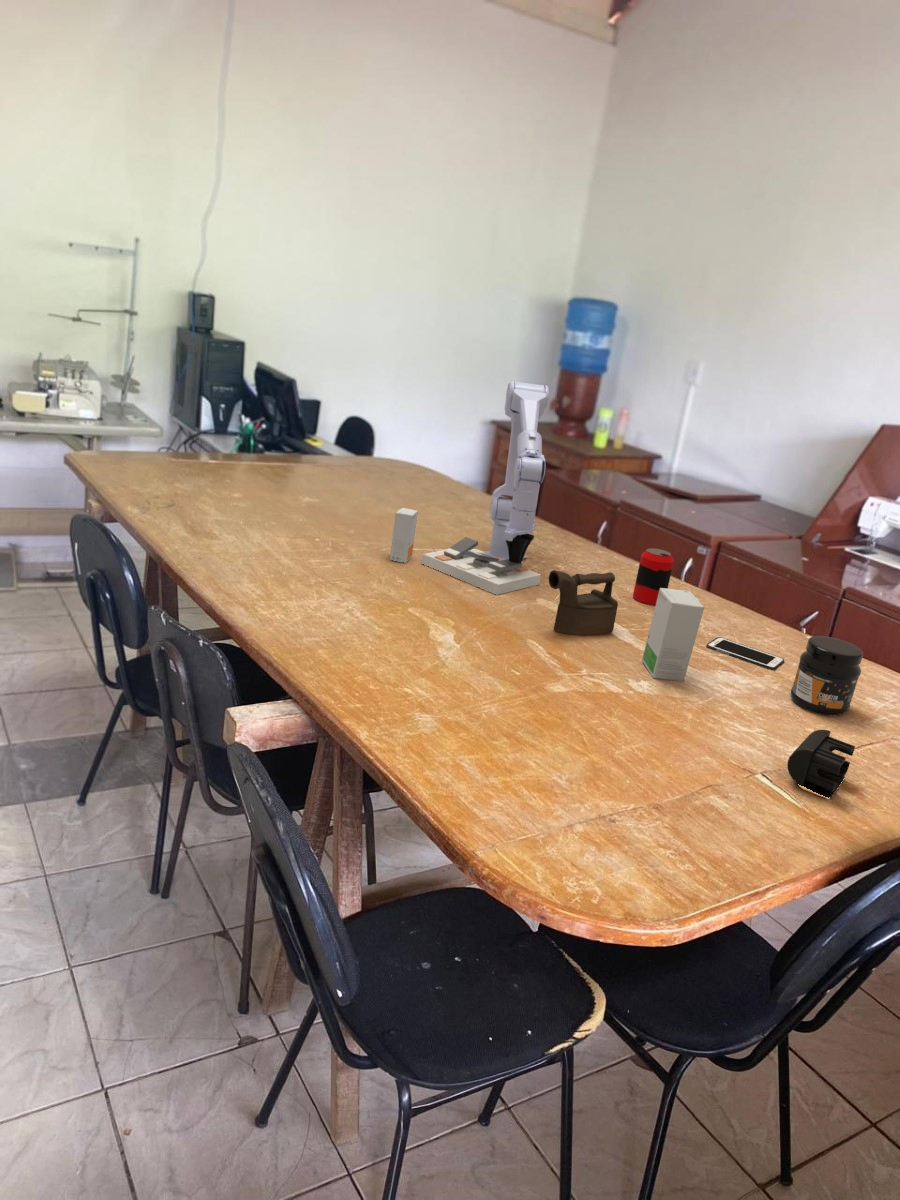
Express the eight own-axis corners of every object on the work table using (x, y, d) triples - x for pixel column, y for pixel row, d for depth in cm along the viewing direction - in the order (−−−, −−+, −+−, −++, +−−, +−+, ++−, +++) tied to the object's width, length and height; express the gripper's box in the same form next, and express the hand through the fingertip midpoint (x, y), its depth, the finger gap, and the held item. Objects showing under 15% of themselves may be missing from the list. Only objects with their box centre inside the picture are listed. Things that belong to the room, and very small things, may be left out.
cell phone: (773, 672, 180) (774, 668, 180) (704, 648, 188) (705, 644, 187) (784, 663, 186) (785, 658, 186) (717, 640, 194) (718, 636, 193)
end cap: (800, 760, 144) (811, 723, 142) (845, 778, 140) (857, 740, 138) (781, 782, 136) (792, 743, 134) (828, 801, 132) (841, 761, 130)
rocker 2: (485, 558, 217) (487, 553, 217) (498, 562, 215) (499, 558, 215) (465, 554, 211) (466, 549, 211) (478, 559, 209) (479, 554, 208)
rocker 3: (508, 562, 213) (509, 558, 213) (521, 567, 210) (522, 563, 210) (487, 567, 207) (487, 562, 207) (500, 572, 205) (501, 567, 204)
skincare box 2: (641, 661, 175) (657, 586, 170) (673, 664, 176) (690, 590, 171) (653, 679, 167) (671, 601, 162) (687, 682, 168) (705, 605, 163)
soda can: (645, 606, 208) (656, 557, 204) (626, 595, 214) (636, 547, 210) (670, 605, 211) (681, 556, 207) (650, 593, 218) (660, 546, 214)
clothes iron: (532, 624, 187) (542, 564, 182) (591, 619, 195) (603, 561, 190) (554, 639, 180) (565, 576, 176) (615, 633, 188) (627, 573, 184)
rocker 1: (466, 540, 221) (465, 536, 220) (478, 545, 218) (477, 541, 218) (444, 555, 216) (443, 551, 216) (456, 559, 214) (455, 555, 213)
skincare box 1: (406, 563, 214) (412, 515, 210) (389, 560, 215) (394, 512, 211) (412, 557, 220) (418, 510, 216) (396, 554, 221) (401, 507, 217)
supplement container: (788, 707, 163) (805, 647, 159) (789, 687, 173) (805, 629, 169) (849, 723, 160) (868, 662, 156) (847, 701, 170) (865, 644, 166)
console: (465, 555, 227) (467, 542, 226) (539, 584, 213) (541, 571, 212) (421, 563, 216) (423, 550, 215) (496, 595, 201) (498, 580, 200)
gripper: (520, 499, 215) (511, 553, 219) (495, 509, 202) (486, 566, 207) (547, 506, 212) (538, 560, 216) (523, 516, 199) (514, 574, 204)
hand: (514, 564), depth 211 cm, fingers closed, pressing on rocker 3
